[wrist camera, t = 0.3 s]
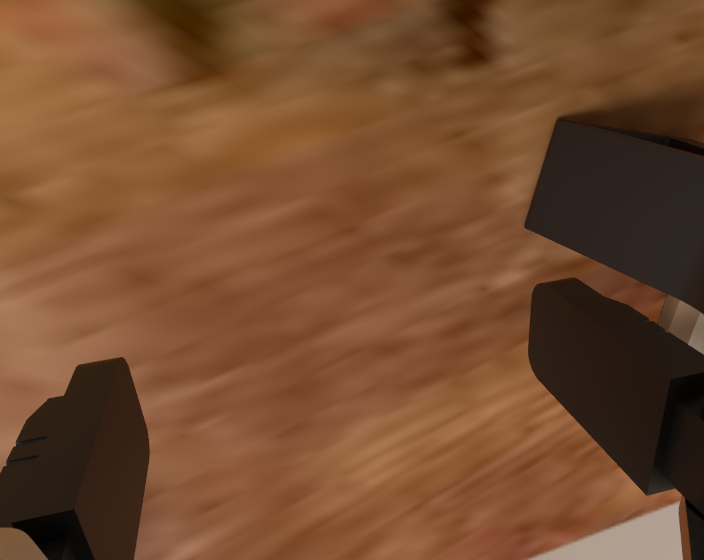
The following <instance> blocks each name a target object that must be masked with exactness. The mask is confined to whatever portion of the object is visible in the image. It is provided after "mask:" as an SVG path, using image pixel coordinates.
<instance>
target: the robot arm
mask: <svg viewBox="0 0 704 560" xmlns="http://www.w3.org/2000/svg"><path fill="white" fill-rule="evenodd" d="M528 356H529V361H530V365H531V368H532V370H533V372H534V374H535V376H536V377H537V379H538V380H539V381H540V382H541V383H542V384H543V385H544V386H545V387H546V389H547V390H548V391H549V392H550V393H551V394H552V395H553V396H554V397H555V398H556V399H557V400H558V401H559V402H560V404H561V405H562V406H563V407H564V408H565V409H566V410H567V411H568V412H569V413H570V414H571V415H572V416H573V417H574V418H575V420H576V421H577V422H578V423H579V424H580V425H581V426H582V427H583V428H584V429H585V430H586V431H587V432H588V433H589V435H590V436H591V437H592V438H593V439H594V440H595V441H596V442H597V443H598V444H599V445H600V446H601V447H602V448H603V450H604V451H605V452H606V453H607V454H608V455H609V456H610V457H611V458H612V459H613V460H614V461H615V462H616V463H617V464H618V466H619V467H620V468H621V469H622V470H623V471H624V472H625V473H626V474H627V475H628V476H629V477H630V478H631V479H632V481H633V482H634V483H635V484H636V485H637V486H638V487H639V488H640V489H641V490H642V491H643V492H644V493H645V494H646V495H651V494H655V493H659V492H663V491H667V490H671V489H674V488H676V489H677V490H678V491H679V492H680V493H681V494H682V497H681V501H680V505H679V521H680V532H681V541H682V542H681V543H682V553H683V560H704V354H702V353H701V352H699V351H698V350H696V349H694V348H693V347H691V346H690V345H688V344H687V343H685V342H684V341H682V340H681V339H679V338H678V337H676V336H675V335H673V334H672V333H670V332H668V333H666V331H665V329H664V328H662V327H661V326H659V325H658V324H656V323H655V322H653V321H651V322H650V321H649V318H647V317H646V316H644V315H643V314H641V313H640V312H638V311H637V310H635V309H633V308H632V307H630V306H629V305H626V304H623V303H621V302H618V301H615V300H612V299H610V298H607V297H604V296H602V295H601V294H599V293H598V292H596V291H595V290H593V289H592V288H590V287H589V286H587V285H586V284H584V283H583V282H581V281H580V280H578V279H576V278H567V279H562V280H556V281H550V282H545V283H540V284H537V285H536V286H535V288H534V290H533V293H532V301H531V315H530V330H529V344H528ZM6 463H7V466H4V467H3V469H2V471H1V473H0V560H134V554H135V548H136V541H137V535H138V528H139V522H140V516H141V509H142V503H143V496H144V490H145V483H146V477H147V471H148V464H149V438H148V431H147V427H146V423H145V420H144V416H143V413H142V410H141V406H140V403H139V400H138V396H137V393H136V390H135V386H134V383H133V380H132V376H131V373H130V370H129V367H128V364H127V362H126V360H125V359H124V358H123V357H119V358H114V359H108V360H103V361H97V362H91V363H86V364H80V365H78V366H77V367H76V369H75V371H74V373H73V376H72V378H71V380H70V383H69V385H68V388H67V390H66V392H65V395H64V396H60V397H54V398H49V399H48V400H47V401H46V402H45V403H44V404H43V405H42V406H41V407H40V408H38V409H37V410H36V411H35V412H34V413H33V414H32V415H31V416H30V417H29V418H28V419H27V420H26V422H25V424H24V426H23V428H22V430H21V432H20V434H19V436H18V438H17V441H16V447H13V449H12V451H11V453H10V455H9V457H8V459H7V461H6Z"/></svg>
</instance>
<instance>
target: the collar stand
mask: <svg viewBox="0 0 704 560" xmlns="http://www.w3.org/2000/svg"><path fill="white" fill-rule="evenodd" d="M658 325H659V326H661V327H662V328H664V329H665V331H666V333H668V332H670V333H672V334H673V335H675V336H676V337H678V338H679V339H681V340H682V341H684V342H685V343H687V344H688V345H690V346H691V347H693V348H694V349H696V350H698V351H699V352H701V353H702V354H704V315H703V314H702V313H701V312H699V311H698V310H696V309H695V308H693V307H692V306H690V305H688V304H686V303H685V302H683V301H681V300H679V299H677V298H675V297H673V296H670V295H668V296H667V299H666V302H665V304H664V307H663V310H662V313H661V316H660V318H659V321H658Z"/></svg>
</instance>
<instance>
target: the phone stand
mask: <svg viewBox="0 0 704 560" xmlns="http://www.w3.org/2000/svg"><path fill="white" fill-rule="evenodd" d="M524 227H525V228H526V229H528V230H531V231H533V232H535V233H537V234H539V235H541V236H544V237H546V238H548V239H550V240H552V241H554V242H556V243H559V244H561V245H563V246H565V247H567V248H569V249H571V250H574V251H576V252H578V253H580V254H582V255H584V256H587V257H589V258H591V259H593V260H595V261H597V262H599V263H602V264H604V265H606V266H608V267H610V268H612V269H614V270H617V271H619V272H621V273H623V274H625V275H627V276H630V277H632V278H634V279H636V280H638V281H640V282H642V283H645V284H647V285H649V286H651V287H653V288H655V289H657V290H660V291H662V292H664V293H666V294H668V295H670V296H673V297H675V298H677V299H679V300H681V301H683V302H685V303H686V304H688V305H690V306H692V307H693V308H695V309H696V310H698V311H699V312H701V313H702V314H703V315H704V144H703V143H700V142H697V141H693V140H689V139H683V138H676V137H670V136H663V135H656V134H650V133H643V132H636V131H630V130H623V129H616V128H610V127H603V126H596V125H590V124H583V123H576V122H570V121H563V120H557V122H556V125H555V128H554V132H553V135H552V138H551V141H550V145H549V148H548V151H547V154H546V158H545V161H544V164H543V167H542V171H541V174H540V177H539V180H538V184H537V187H536V190H535V193H534V197H533V200H532V203H531V206H530V210H529V213H528V216H527V219H526V223H525V226H524Z"/></svg>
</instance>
